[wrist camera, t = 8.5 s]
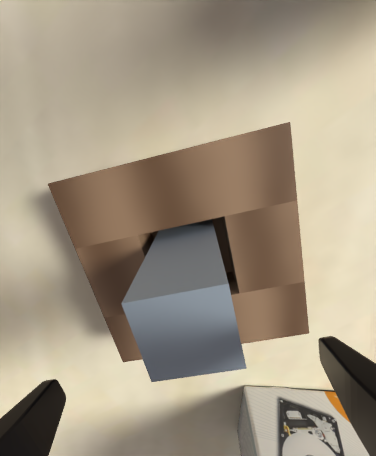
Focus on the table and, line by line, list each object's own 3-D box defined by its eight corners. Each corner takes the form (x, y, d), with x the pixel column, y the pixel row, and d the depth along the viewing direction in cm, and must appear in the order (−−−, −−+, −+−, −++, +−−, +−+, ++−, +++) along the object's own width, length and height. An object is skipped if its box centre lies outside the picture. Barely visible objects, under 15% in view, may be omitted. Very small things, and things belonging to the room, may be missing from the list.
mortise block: (266, 131, 15) (290, 122, 11) (286, 298, 19) (309, 333, 15) (81, 178, 17) (47, 183, 13) (136, 324, 21) (123, 362, 17)
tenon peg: (211, 217, 16) (228, 283, 8) (221, 264, 17) (246, 368, 9) (159, 228, 17) (121, 303, 8) (173, 274, 18) (151, 382, 9)
